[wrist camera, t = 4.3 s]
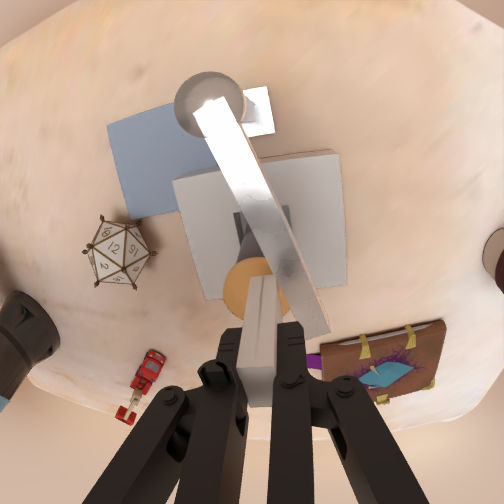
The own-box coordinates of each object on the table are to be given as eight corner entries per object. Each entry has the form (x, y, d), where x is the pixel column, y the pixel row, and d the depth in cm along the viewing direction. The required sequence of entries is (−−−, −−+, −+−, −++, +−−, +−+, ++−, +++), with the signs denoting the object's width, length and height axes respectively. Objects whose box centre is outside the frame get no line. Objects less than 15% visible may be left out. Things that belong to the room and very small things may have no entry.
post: (227, 140, 29) (180, 162, 15) (218, 96, 27) (162, 75, 13) (275, 132, 28) (273, 144, 14) (266, 87, 26) (255, 52, 12)
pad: (133, 218, 33) (131, 220, 33) (109, 125, 28) (106, 125, 28) (226, 200, 32) (225, 202, 31) (204, 95, 27) (202, 94, 26)
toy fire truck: (168, 356, 44) (150, 401, 35) (145, 390, 49) (129, 428, 41) (150, 346, 43) (129, 391, 34) (130, 382, 49) (113, 420, 40)
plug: (248, 246, 33) (231, 325, 21) (240, 206, 31) (215, 268, 19) (291, 241, 32) (297, 319, 20) (285, 199, 30) (290, 260, 18)
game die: (143, 241, 39) (104, 300, 34) (104, 199, 33) (57, 261, 29) (183, 244, 34) (138, 316, 29) (138, 192, 28) (80, 270, 23)
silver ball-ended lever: (292, 328, 18) (293, 343, 17) (173, 95, 13) (163, 93, 11) (339, 312, 18) (343, 327, 16) (229, 65, 12) (224, 59, 11)
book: (288, 340, 41) (288, 363, 37) (440, 310, 37) (454, 329, 33) (299, 404, 47) (300, 425, 43) (425, 379, 43) (433, 398, 39)
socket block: (212, 282, 36) (205, 300, 33) (184, 173, 31) (171, 180, 27) (340, 266, 34) (347, 284, 30) (330, 149, 28) (338, 153, 25)
